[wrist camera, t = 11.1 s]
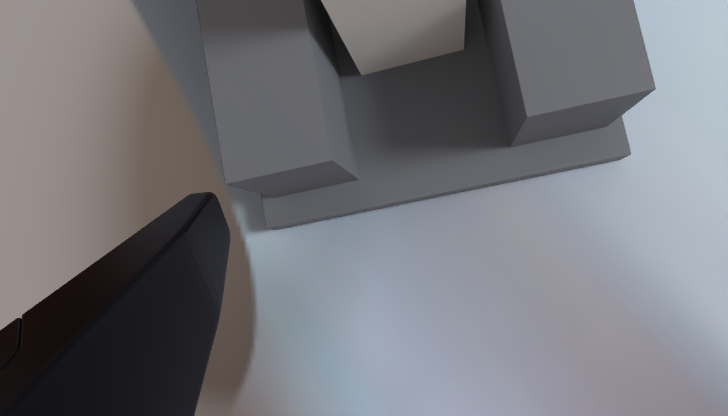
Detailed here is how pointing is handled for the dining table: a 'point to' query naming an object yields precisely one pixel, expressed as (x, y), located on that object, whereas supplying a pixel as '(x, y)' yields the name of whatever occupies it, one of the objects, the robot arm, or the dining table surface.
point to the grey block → (397, 30)
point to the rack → (416, 103)
